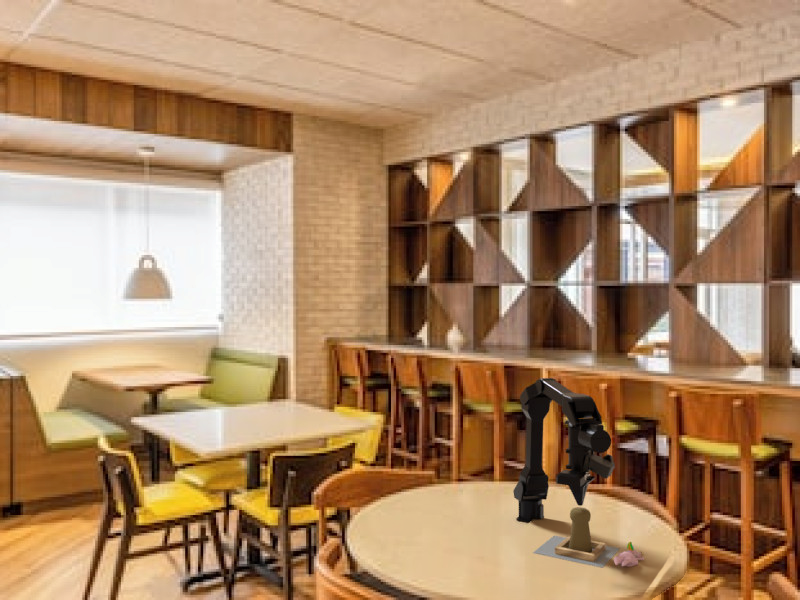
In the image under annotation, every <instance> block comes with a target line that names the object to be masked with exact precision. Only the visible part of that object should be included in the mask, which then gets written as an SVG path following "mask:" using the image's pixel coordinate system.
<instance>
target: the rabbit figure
mask: <svg viewBox="0 0 800 600" xmlns="http://www.w3.org/2000/svg"><path fill="white" fill-rule="evenodd" d="M632 543H633V542H632V541H629V542H628V543H627V545H626V548H627V551H625V550H624V551H622V552H619V553H618V555H617V556H615V557H613V562H614V564H615V565H616V566H618V565H620V566H621V567H634V566H637V565H638V564H639V561H644V560H645V558H644V557H643V556H642V555H643V550H640V551H638V550H635V549H634V546H633V544H632Z"/></svg>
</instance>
